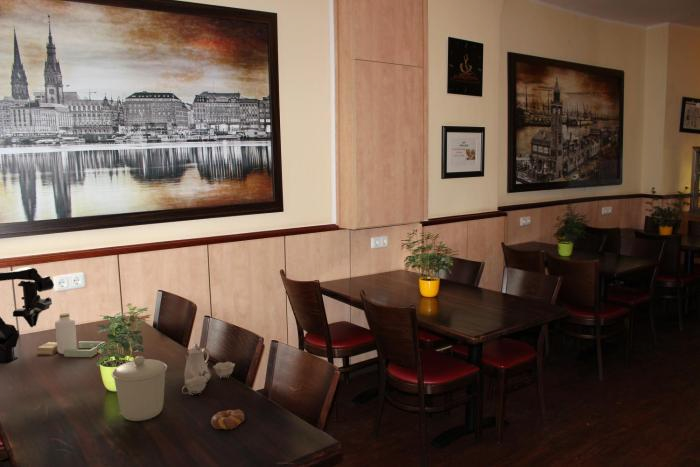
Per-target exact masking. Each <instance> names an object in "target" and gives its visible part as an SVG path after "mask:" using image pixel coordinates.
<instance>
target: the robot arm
mask: <svg viewBox="0 0 700 467" xmlns="http://www.w3.org/2000/svg"><path fill="white" fill-rule="evenodd" d="M12 280H21V281H20V282H19V283H18V284H17V287H22V294H23V296H22V297H21V300H23V303H24V304H23V305H22V306H21V307H22V308H17V309H15V310H13V311H12V317H13V318H14V317H15V318H16V317H17V318H19V317H21V318H22V317H23V319H24V320H25V322H26V323H27V324H28V325H29V327H30V328H34V327H36V326H37V323H38V320H39V319H38V318H39V316H40V314H41V313H42V312H43V311H47V310H48V309H50V307H51V305H53V303H52V298H51V297H49V296H48V297H46V298H41V295H40V294H38V293H43V292H47V291H51V290H52V289H54V286H55V283H54V281H53V280H52V279H51V276H50V275H44V276H41V275H40V274H39V272H38V270H37V269H36V268H34V267H26V266H25V267H20V268H17V269H15V270H9V271H7V270H6V271H0V282H3V281H12ZM19 332H20V331H19V330H17V329H16V327H15V325H14V324H8V323H6V322H5V321H4V319H3V318H2V317H1V316H0V363H5V364H6V363H11V362H13V361H15V360H16V359H18V356H15V348H16V347H17V344H18V341H19V339H20V338H19V337H20V334H19Z"/></svg>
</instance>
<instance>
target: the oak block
mask: <svg viewBox="0 0 700 467" xmlns="http://www.w3.org/2000/svg"><path fill="white" fill-rule="evenodd" d="M56 353H58V351H57V341H56V342H53V341H48V342H46V343H44V344H42V345H39V346H38V347H37V355H54V354H56Z"/></svg>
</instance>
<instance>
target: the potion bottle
mask: <svg viewBox="0 0 700 467" xmlns="http://www.w3.org/2000/svg"><path fill="white" fill-rule="evenodd" d="M54 325H55V328H54V329H55V337H56V338H55V339H56V342H57V351H58V352H57V353H58V354H60V355H64V350H78V346H77V345H78V343H77V330H76V321H75V319H74V318H72V317H71V316H70V313H60V314H59V319H57V320H56V321H55V323H54Z"/></svg>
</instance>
